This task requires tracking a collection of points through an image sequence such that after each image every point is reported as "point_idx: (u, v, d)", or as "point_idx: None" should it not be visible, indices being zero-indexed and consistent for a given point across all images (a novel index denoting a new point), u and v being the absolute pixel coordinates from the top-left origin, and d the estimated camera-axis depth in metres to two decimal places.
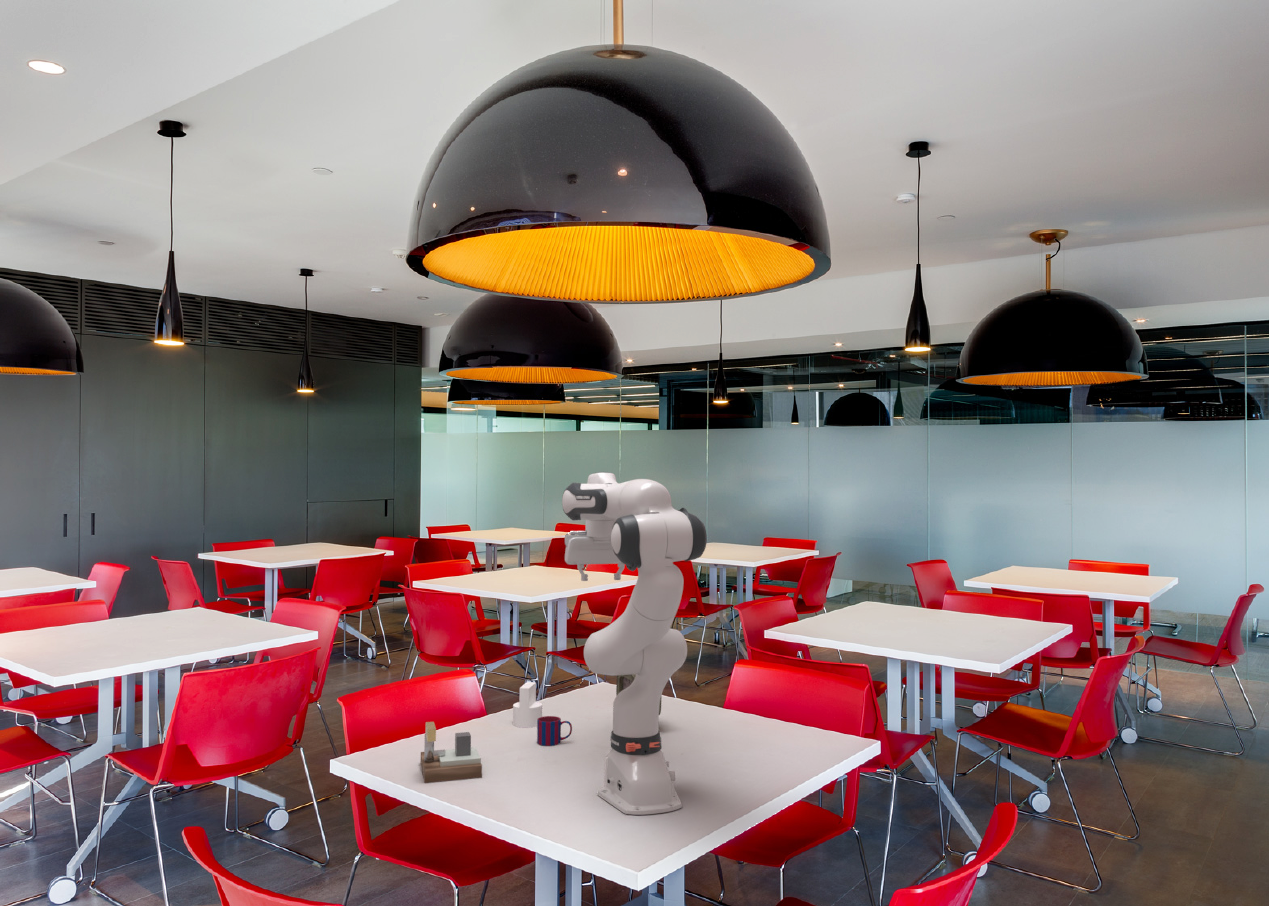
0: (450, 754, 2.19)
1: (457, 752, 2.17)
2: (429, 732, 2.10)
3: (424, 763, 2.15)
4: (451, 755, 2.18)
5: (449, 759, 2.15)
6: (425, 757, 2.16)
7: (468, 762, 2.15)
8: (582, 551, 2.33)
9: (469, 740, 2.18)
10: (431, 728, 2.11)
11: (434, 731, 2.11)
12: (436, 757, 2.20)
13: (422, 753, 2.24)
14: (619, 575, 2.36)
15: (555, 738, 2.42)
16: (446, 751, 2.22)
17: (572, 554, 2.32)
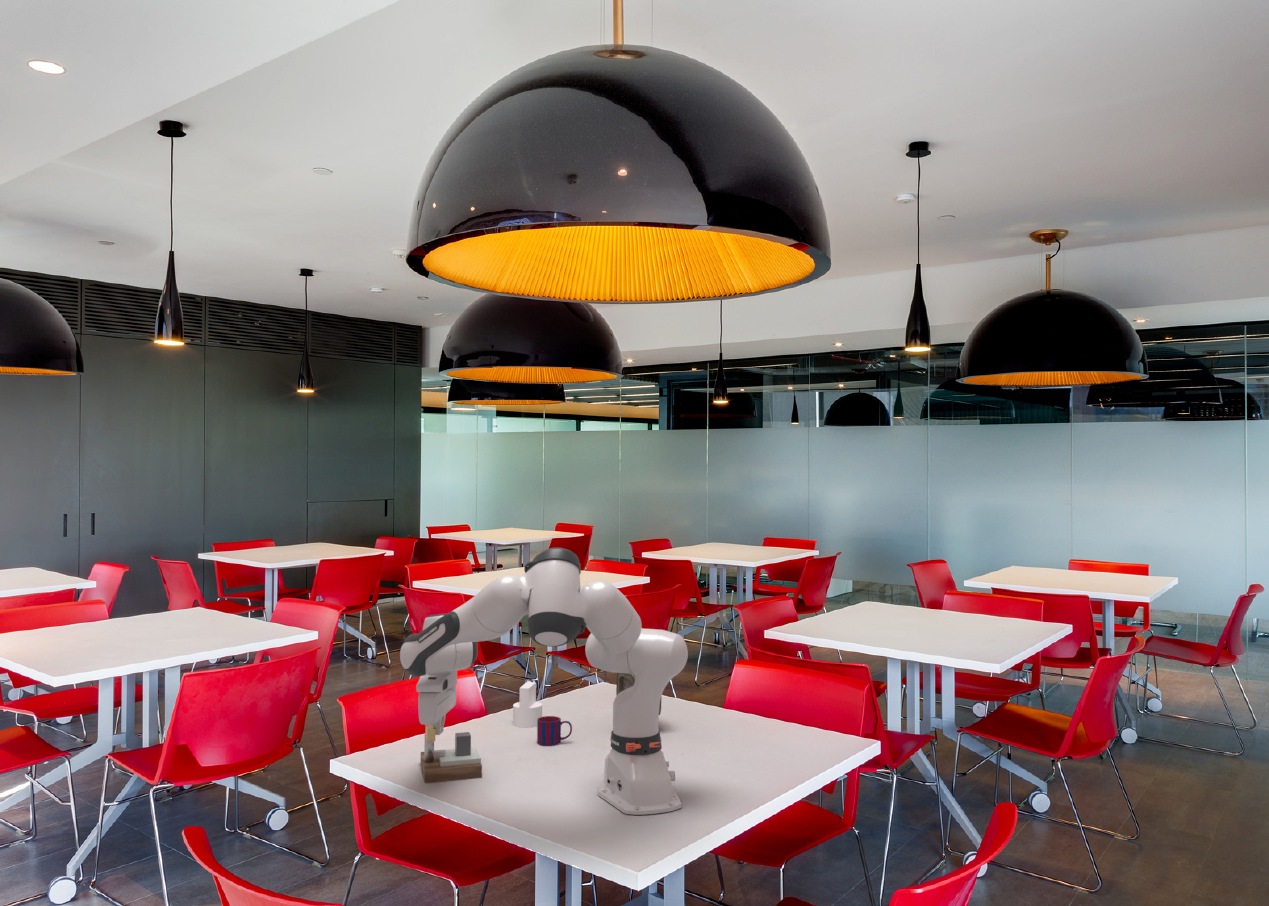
0: (450, 754, 2.19)
1: (457, 752, 2.17)
2: (429, 732, 2.10)
3: (424, 763, 2.15)
4: (451, 755, 2.18)
5: (449, 759, 2.15)
6: (425, 757, 2.16)
7: (468, 762, 2.15)
8: None
9: (469, 740, 2.18)
10: (431, 728, 2.11)
11: (434, 731, 2.11)
12: (436, 757, 2.20)
13: (422, 753, 2.24)
14: None
15: (555, 738, 2.42)
16: (446, 751, 2.22)
17: None
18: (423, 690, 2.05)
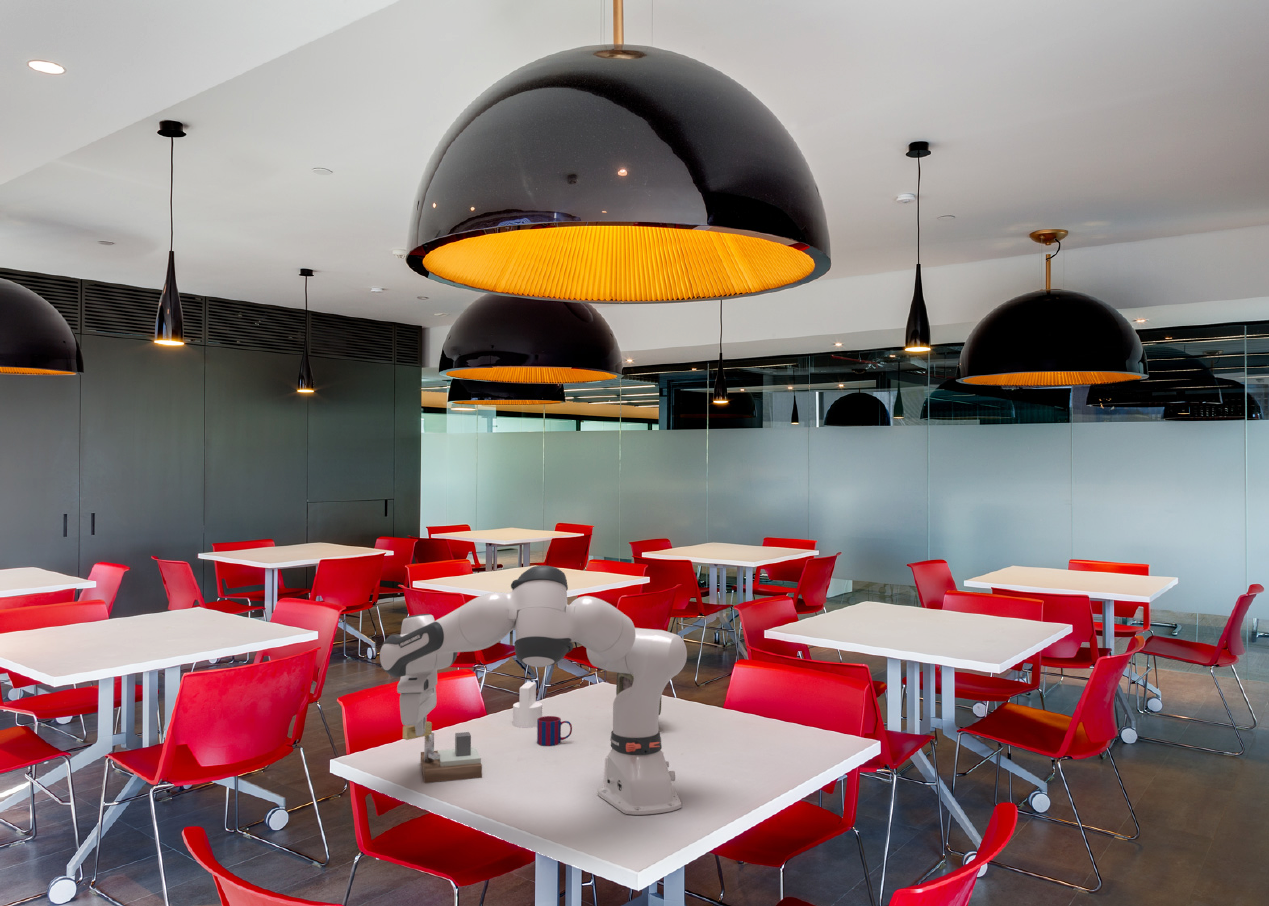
0: (450, 754, 2.19)
1: (457, 752, 2.17)
2: (403, 730, 2.13)
3: (424, 763, 2.15)
4: (451, 755, 2.18)
5: (449, 759, 2.15)
6: None
7: (468, 762, 2.15)
8: None
9: (469, 740, 2.18)
10: (407, 726, 2.13)
11: (406, 730, 2.12)
12: None
13: (422, 753, 2.24)
14: None
15: (555, 738, 2.42)
16: (446, 751, 2.22)
17: None
18: (404, 691, 2.05)
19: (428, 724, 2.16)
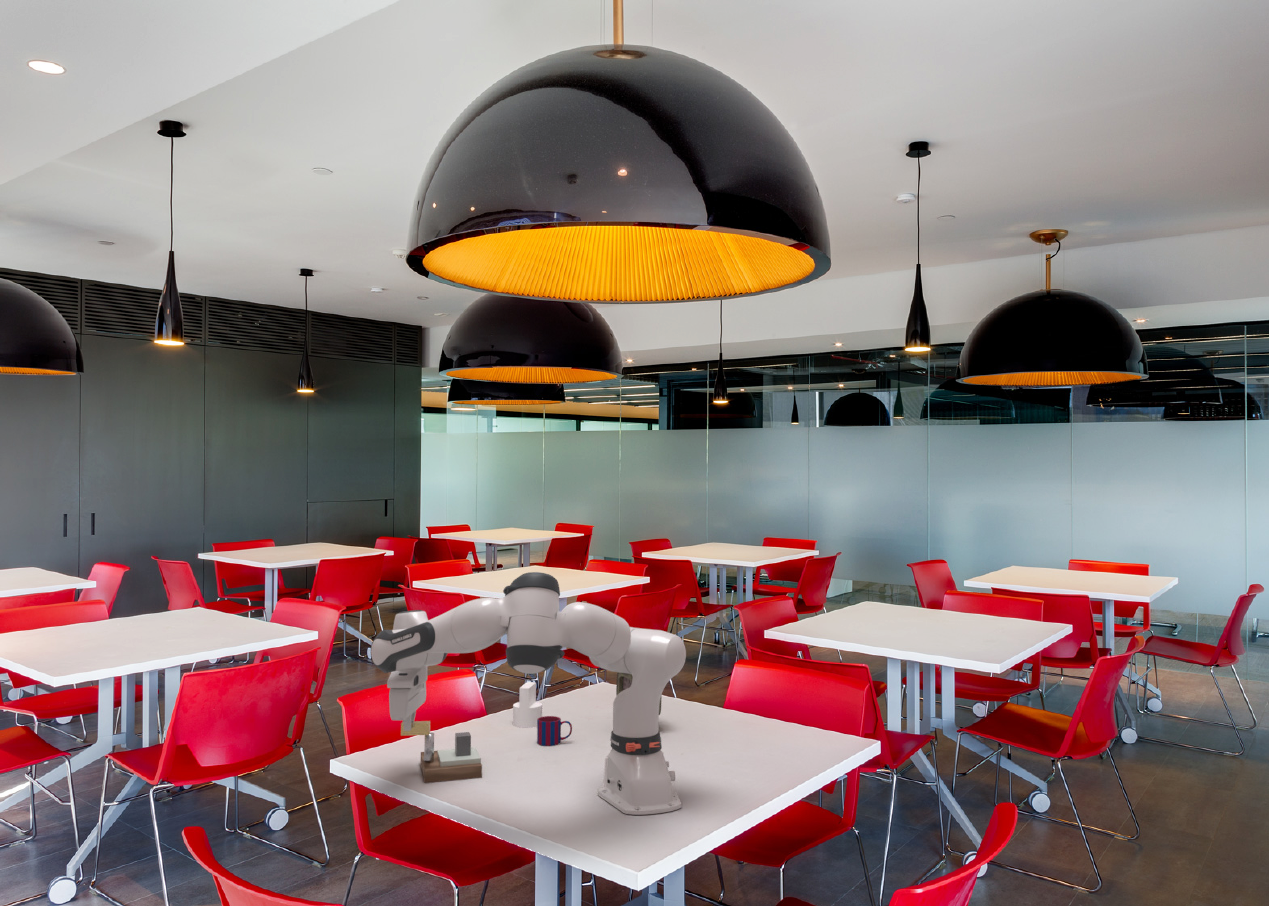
0: (450, 754, 2.19)
1: (457, 752, 2.17)
2: None
3: (424, 763, 2.15)
4: (451, 755, 2.18)
5: (449, 759, 2.15)
6: None
7: (468, 762, 2.15)
8: None
9: (469, 740, 2.18)
10: None
11: None
12: (436, 757, 2.20)
13: (422, 753, 2.24)
14: None
15: (555, 738, 2.42)
16: (446, 751, 2.22)
17: None
18: (394, 686, 2.06)
19: (425, 724, 2.16)
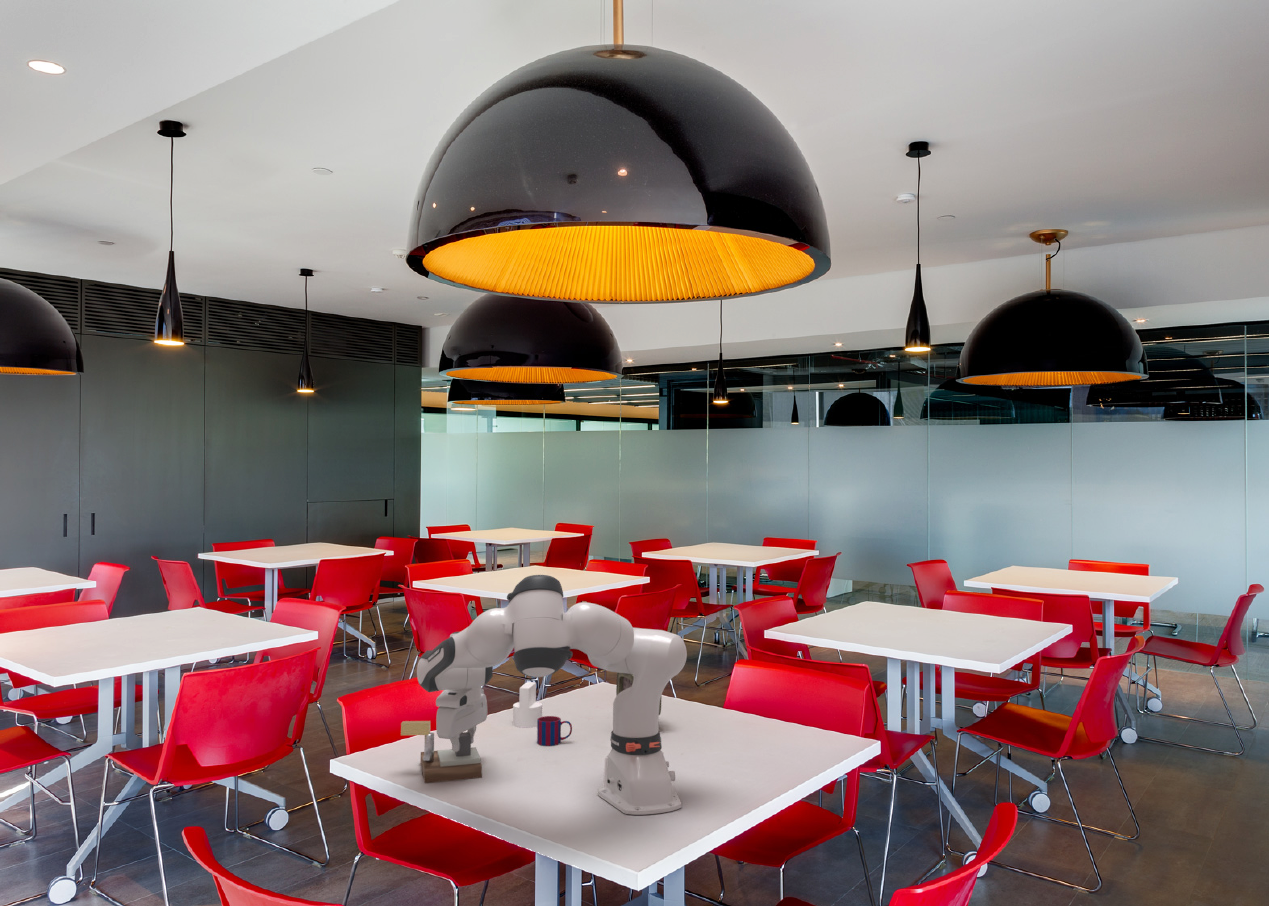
0: (450, 754, 2.19)
1: (457, 752, 2.17)
2: None
3: (424, 763, 2.15)
4: (451, 755, 2.18)
5: (449, 759, 2.15)
6: None
7: (468, 762, 2.15)
8: None
9: (469, 740, 2.18)
10: (405, 722, 2.17)
11: None
12: (436, 757, 2.20)
13: (422, 753, 2.24)
14: None
15: (555, 738, 2.42)
16: (446, 751, 2.22)
17: None
18: (441, 705, 2.12)
19: (425, 724, 2.16)
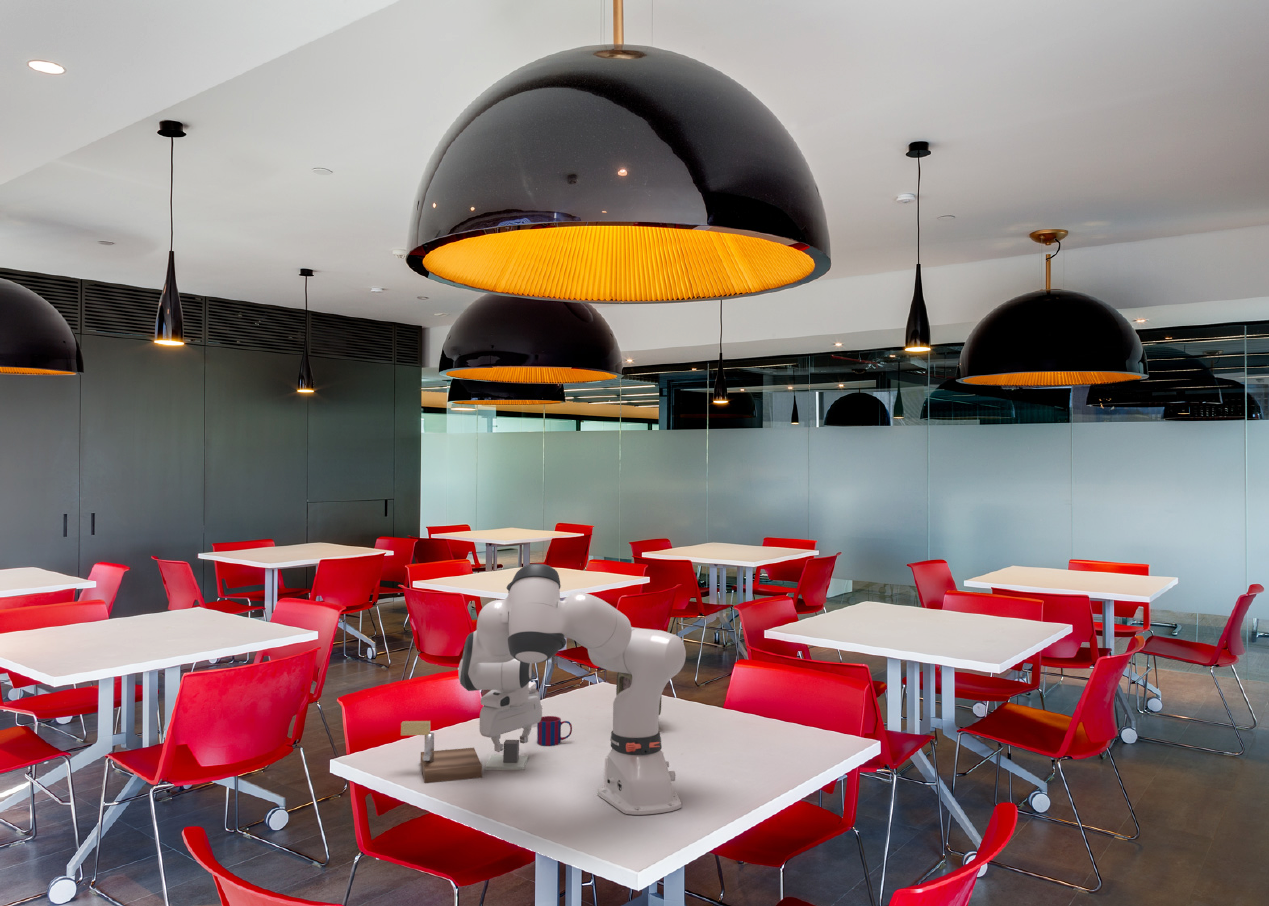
0: (500, 760, 2.25)
1: (503, 758, 2.23)
2: None
3: (424, 763, 2.15)
4: (499, 761, 2.25)
5: (494, 765, 2.21)
6: None
7: (511, 769, 2.20)
8: None
9: (515, 748, 2.24)
10: (405, 722, 2.17)
11: None
12: (436, 757, 2.20)
13: (422, 753, 2.24)
14: None
15: (555, 738, 2.42)
16: (498, 756, 2.29)
17: None
18: (484, 704, 2.20)
19: (425, 724, 2.16)
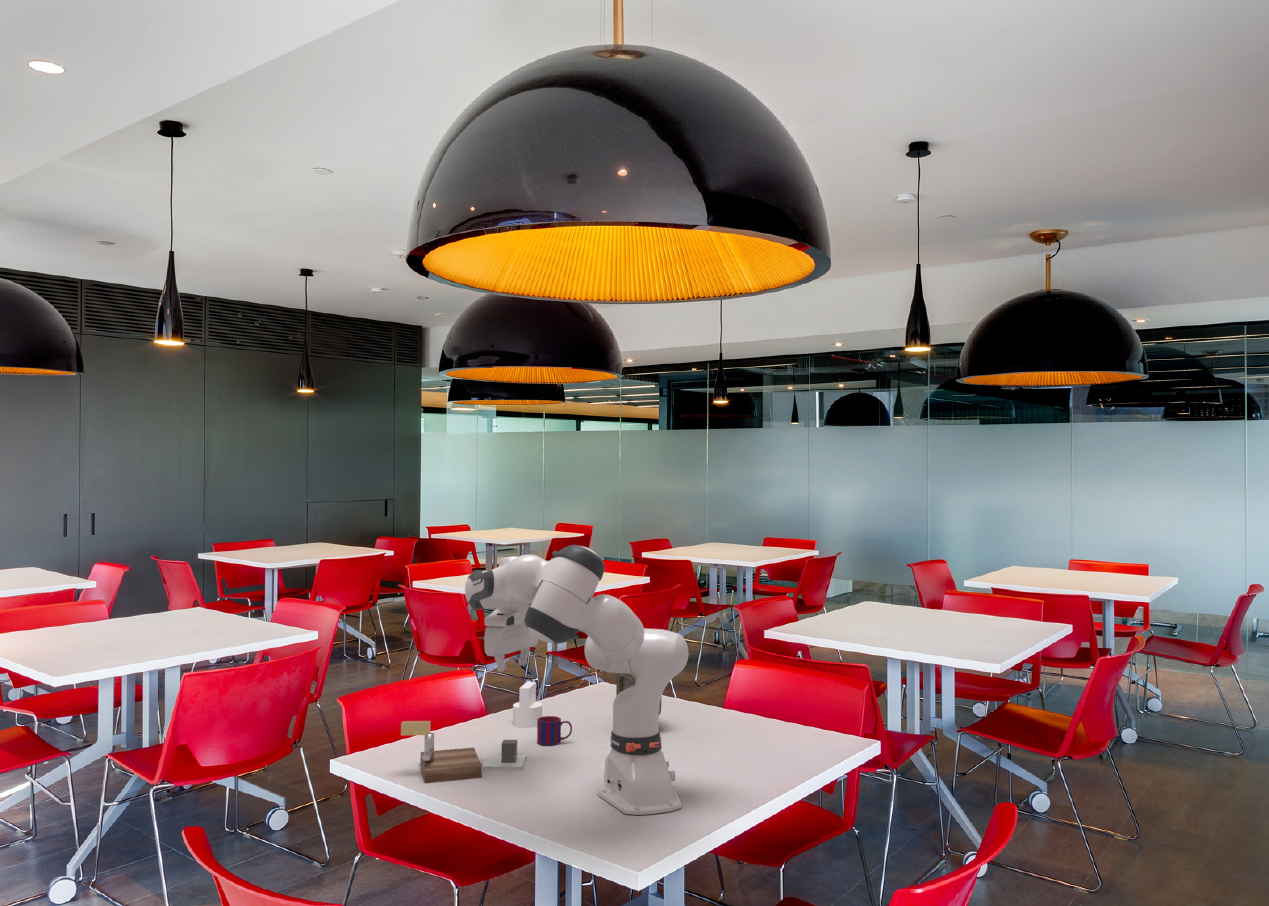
0: (498, 760, 2.25)
1: (502, 758, 2.23)
2: None
3: (424, 763, 2.15)
4: (497, 761, 2.25)
5: (492, 765, 2.21)
6: None
7: (509, 769, 2.20)
8: None
9: (513, 748, 2.24)
10: (405, 722, 2.17)
11: None
12: (436, 757, 2.20)
13: (422, 753, 2.24)
14: None
15: (555, 738, 2.42)
16: (497, 756, 2.29)
17: None
18: (489, 624, 2.20)
19: (425, 724, 2.16)
